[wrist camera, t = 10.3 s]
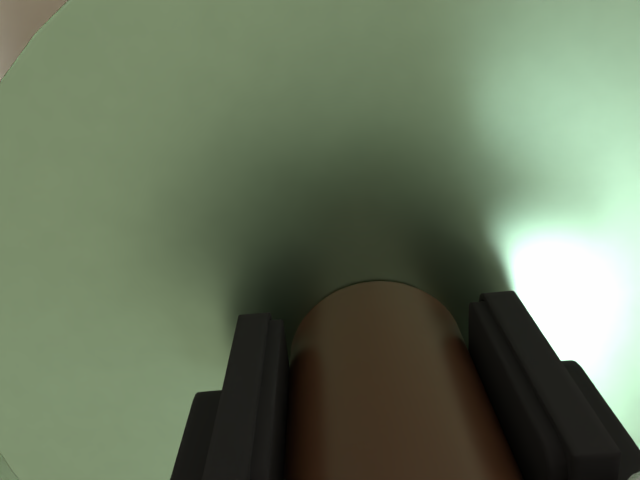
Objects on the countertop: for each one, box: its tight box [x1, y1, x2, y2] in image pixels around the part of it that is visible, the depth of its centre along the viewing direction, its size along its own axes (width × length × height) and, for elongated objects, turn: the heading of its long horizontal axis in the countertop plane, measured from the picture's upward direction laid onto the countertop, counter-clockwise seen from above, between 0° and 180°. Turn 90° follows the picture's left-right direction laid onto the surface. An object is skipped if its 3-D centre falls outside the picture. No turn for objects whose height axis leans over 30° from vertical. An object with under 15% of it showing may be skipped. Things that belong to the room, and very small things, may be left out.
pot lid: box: [0, 0, 640, 480], centre depth 9 cm, size 16×16×7 cm
